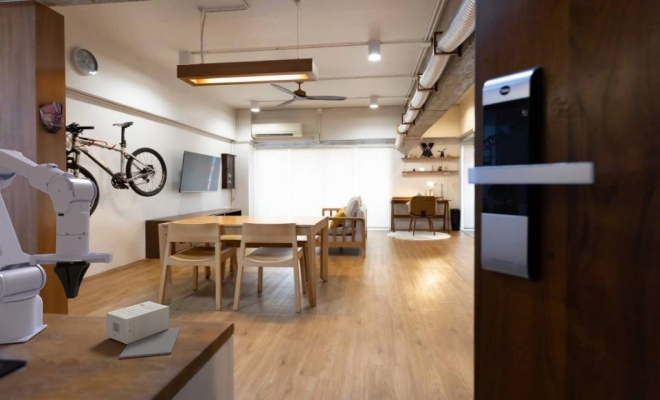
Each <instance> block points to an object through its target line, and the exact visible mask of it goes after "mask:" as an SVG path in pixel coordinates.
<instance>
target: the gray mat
mask: <svg viewBox="0 0 660 400" xmlns="http://www.w3.org/2000/svg"><path fill="white" fill-rule="evenodd" d="M180 330H181V327H180V326H179V327H169V329H166V330H164V331H161V332H158V333H156V334H153V335H150V336H148V337H145V338H142V339H139V340H137V341H134V342H131V343H129V344H126V346H125V347H124V349H123V351H122V352H121V353H120V355H119V356H118V359H119V360H120V359H130V358H131V359H132V358H140V357H142V358H143V357H151V356H161V355H171V354H172V353H173V349H174V347H175V345H176V341H177V339H178V336H179V334H180Z"/></svg>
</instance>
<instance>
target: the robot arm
mask: <svg viewBox="0 0 660 400" xmlns="http://www.w3.org/2000/svg"><path fill="white" fill-rule="evenodd" d="M17 175H19V176H22V177H25V178H27V180H28V183H29V184H30V185H31V186H32V187H33V188H35V189H37V190H39V191H41V192H42V193H45V194H47V195H49V198H50V201H52V205H53V207H52V208H53V210H54V213H55V214H56V216H55V217H56V219H55V220H56V222H55V223H56V224H55V225H56V226H55V227H56V231H55V232H56V235H55V240H56V241H55V253H45V254H44V253H43V254H33V255H31V254H28V253H25V252H23V250H22V247H21V244H20V242H19V239H18V236H17V234H16V231H15V228H14V226H13V222H12V220H11V218H10V217H11V216H10V215H9V211H8V209H7V206H6V203H5V201H4V198H3V196H2V193H1V192H2V190H3V189H5V188H8V187H9V186H11V183H12V182H13V180H14V179H15V177H16V176H17ZM97 194H98V189H97V185H96V184H95V183H94V181H93V180H91V179H90V178H88V177H81V178H78V177H76V176H75V175H74V173H73V172H70V171H63V170H62V169H59V165H57V164H56V163H49V162H47V163H42V164H38V163H36V162H34V161H33V160H31V159H29V158H27V156H24V155H23V153H22V152H21V151H17V150H15V149H12V148H11V149H4V148H0V345H1V344H2V345H3V344H14V343H25V342H28V341H29V340H30V339H32V338H33V337H35V336H36V335H37V334H39V333H40V332H41V331H43V330H44V329H47V327H48V324H43V318H44V317H43V316H44V315H43V314H44V312H43V310H44V309H43V308H44V303H43V299H42V297H41V296H40V290H42V289H43V288H44V287H45V285H46V282H47V273H46V271H45V269H44V268H43V266H41V265H55V266H54V267H53V268H52V269H53V272H54V273H55V274H56V276H57V277H58V279H59V281H60V283H61V286H62V287H63V291H64V294H65V298H66V299H75V298H77V297H78V296H79V290H80V287H81V284H82V282H83V279H84V277H85V276H86V273H87V272H88V270H89V268H90V266H91V264H98V263H99V264H100V263H101V264H102V263H103V264H110V263H112V262H113V255H114V254H113V252H90V218H91V217H90V216H91V215H90V211H91V207H90V205H91V204H92V203H93V202H94V201H95V199H96V198H97V196H98V195H97Z"/></svg>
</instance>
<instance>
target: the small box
mask: <svg viewBox="0 0 660 400" xmlns="http://www.w3.org/2000/svg"><path fill="white" fill-rule="evenodd" d="M105 317H106V318H105V319H106V321H105V322H106V323H105V324H106V327H105V329H106V332H105V336H106V338H110V339H113V340H115V341H118V342H120V343H123V344H125V345H128V344H129V343H131V342H134V341H137V340H139V339H142V338H145V337H148V336H150V335H153V334H156V333H158V332H161V331H164V330H166V329H169V328H170V306H169V305H163V304H160V303H156V302H153V301H150V300H148V301H145V302H140V303H138V304H134V305H130V306H126V307H122V308H119V309H116V310H115V309H114V310H112V311H109V312H106V315H105Z"/></svg>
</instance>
